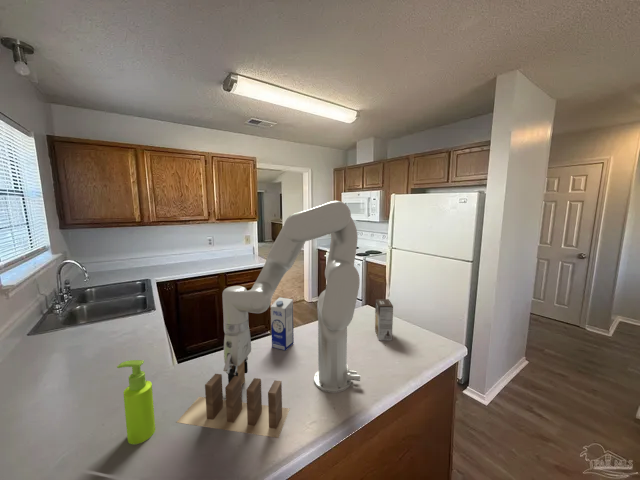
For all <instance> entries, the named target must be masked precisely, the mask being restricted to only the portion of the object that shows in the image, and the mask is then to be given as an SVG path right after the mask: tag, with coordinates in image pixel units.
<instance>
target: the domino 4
mask: <svg viewBox="0 0 640 480" xmlns="http://www.w3.org/2000/svg"><path fill="white" fill-rule="evenodd" d="M245 390H246V391H245V392H246V394H245V395H246V403H247V421H248V425H253V426H255V424H256V422H257V420H258V418H259V416H260V415H261V413H262V405H263V403H262V402H263V401H262V399H263V398H262V397H263V396H262V379H261V378H258V377H257V378H256V377H254V378H253V379H252V381H251V382H250V384H249V385H248V387H247V388H246V389H245Z"/></svg>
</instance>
